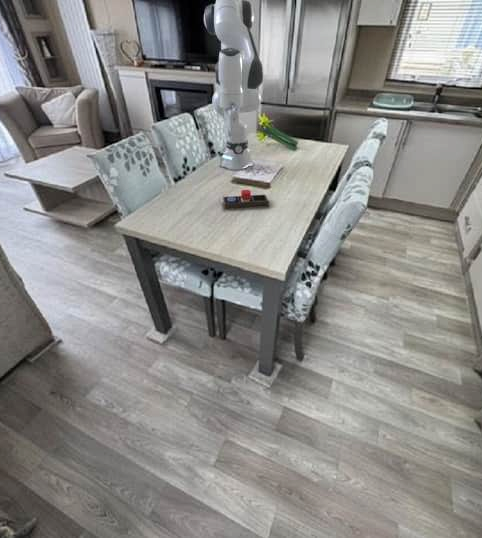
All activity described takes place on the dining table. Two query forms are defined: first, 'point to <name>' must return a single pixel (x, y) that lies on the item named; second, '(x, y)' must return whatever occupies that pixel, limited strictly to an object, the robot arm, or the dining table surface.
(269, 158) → the dining table surface
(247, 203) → the token board
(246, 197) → the red token
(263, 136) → the daffodil flowers
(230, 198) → the slate token
